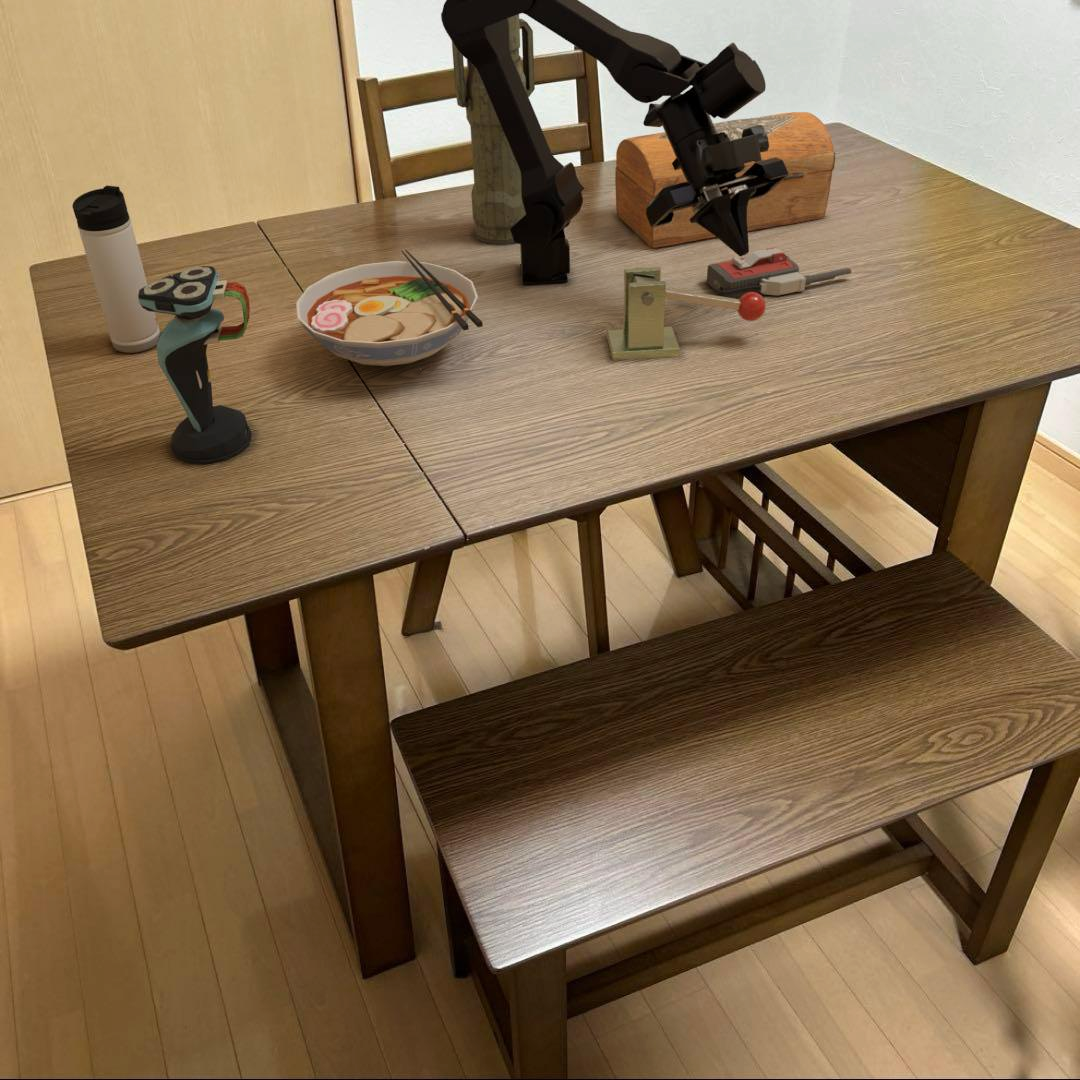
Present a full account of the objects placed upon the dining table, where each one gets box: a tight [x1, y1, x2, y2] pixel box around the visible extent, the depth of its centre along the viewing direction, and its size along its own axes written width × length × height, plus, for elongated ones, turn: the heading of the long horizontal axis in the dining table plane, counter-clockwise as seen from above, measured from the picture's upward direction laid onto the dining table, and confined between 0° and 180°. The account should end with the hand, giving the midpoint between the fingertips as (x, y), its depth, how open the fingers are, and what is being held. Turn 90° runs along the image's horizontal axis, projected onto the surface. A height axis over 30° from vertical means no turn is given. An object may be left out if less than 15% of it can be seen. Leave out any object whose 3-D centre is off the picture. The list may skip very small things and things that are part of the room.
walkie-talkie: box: [706, 247, 852, 299], centre depth 157 cm, size 9×4×20 cm
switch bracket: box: [606, 266, 681, 361], centre depth 141 cm, size 8×6×10 cm
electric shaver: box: [138, 265, 253, 465], centre depth 124 cm, size 9×12×20 cm
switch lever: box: [633, 276, 767, 322], centre depth 141 cm, size 17×4×4 cm, turn 95°
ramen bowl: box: [295, 249, 483, 367], centre depth 143 cm, size 25×23×8 cm
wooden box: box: [614, 111, 836, 248], centre depth 173 cm, size 30×16×14 cm, turn 109°
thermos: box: [451, 14, 536, 245], centre depth 164 cm, size 9×12×35 cm
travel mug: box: [71, 185, 161, 354], centre depth 143 cm, size 6×7×20 cm
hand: (744, 254), depth 139 cm, fingers closed
